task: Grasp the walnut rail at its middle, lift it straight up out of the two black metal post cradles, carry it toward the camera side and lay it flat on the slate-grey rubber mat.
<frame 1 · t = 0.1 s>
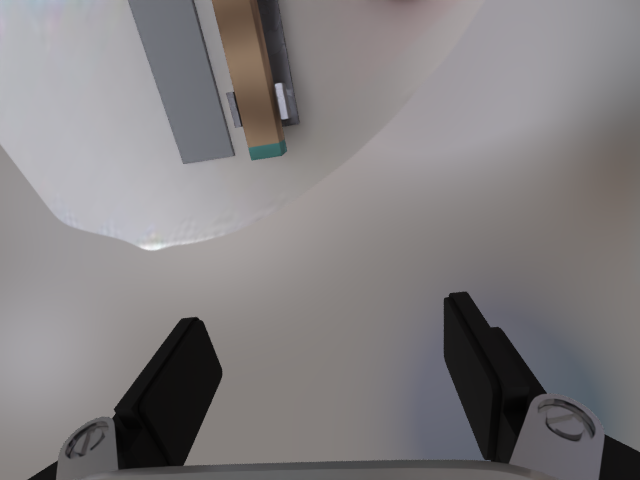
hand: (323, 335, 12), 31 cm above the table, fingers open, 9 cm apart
mat: (178, 55, 36), on the table
rail: (244, 20, 27), point 8 cm above the table, touching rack
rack: (264, 37, 34), on the table
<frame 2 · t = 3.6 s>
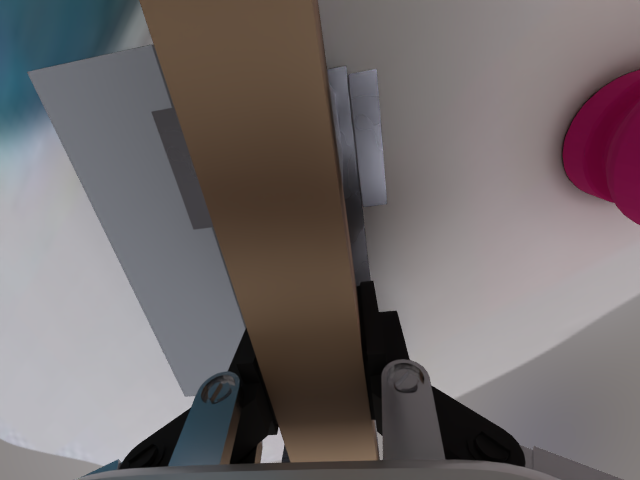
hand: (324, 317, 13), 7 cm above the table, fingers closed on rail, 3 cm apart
pepper mill: (623, 136, 16), on the table
mat: (177, 262, 21), on the table
rail: (323, 330, 12), point 8 cm above the table, touching gripper, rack
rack: (330, 243, 19), on the table
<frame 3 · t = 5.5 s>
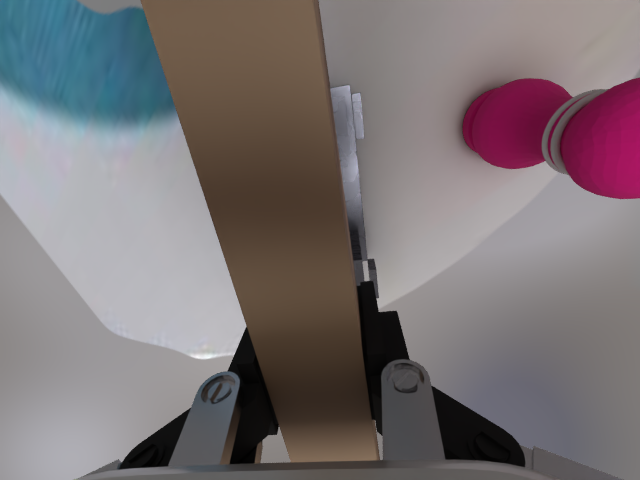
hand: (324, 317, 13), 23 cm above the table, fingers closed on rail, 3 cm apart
pepper mill: (493, 122, 30), on the table
rail: (324, 330, 12), point 24 cm above the table, touching gripper
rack: (339, 183, 34), on the table
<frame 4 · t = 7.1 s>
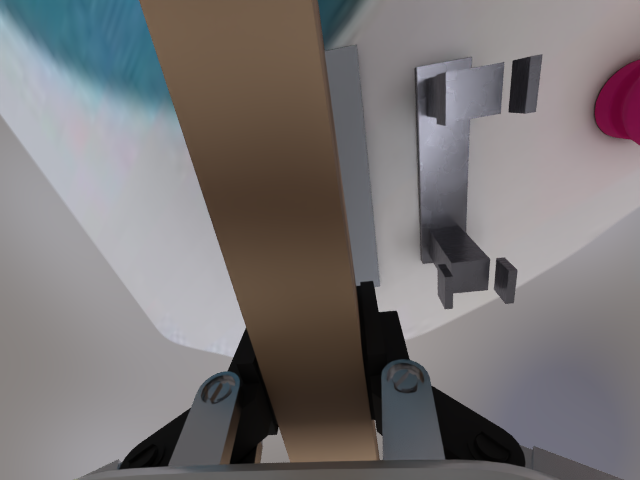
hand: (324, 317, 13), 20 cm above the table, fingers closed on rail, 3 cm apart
pepper mill: (631, 99, 26), on the table
mat: (335, 188, 31), on the table
rail: (323, 331, 12), point 21 cm above the table, touching gripper
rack: (441, 173, 30), on the table
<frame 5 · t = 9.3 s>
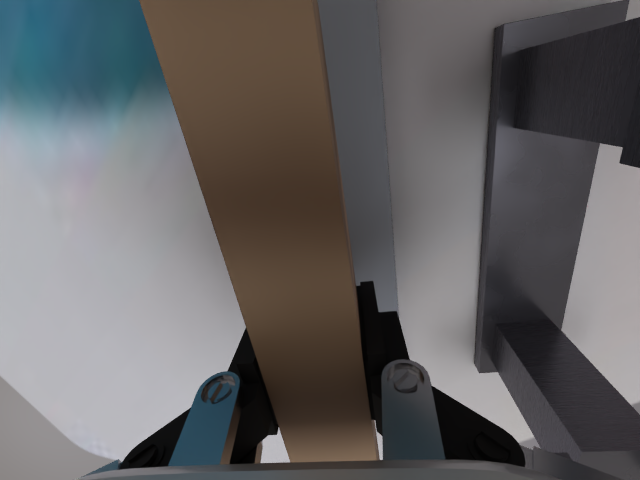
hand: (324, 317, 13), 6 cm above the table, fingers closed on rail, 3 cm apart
mat: (331, 252, 18), on the table
rail: (323, 331, 12), point 6 cm above the table, touching gripper
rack: (525, 230, 16), on the table
when the fingers open (1 cm above the table, at t = 11.0 s): rail drops 1 cm, resting on mat.
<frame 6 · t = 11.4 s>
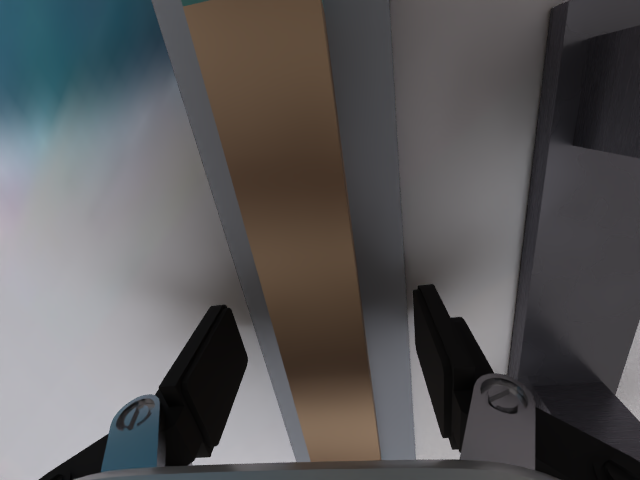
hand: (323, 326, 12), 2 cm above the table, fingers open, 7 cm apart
mat: (326, 297, 14), on the table
rail: (327, 304, 13), point 1 cm above the table, touching mat
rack: (575, 273, 13), on the table
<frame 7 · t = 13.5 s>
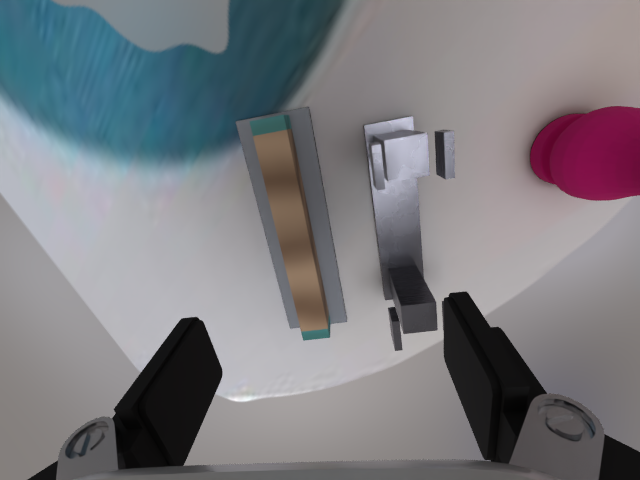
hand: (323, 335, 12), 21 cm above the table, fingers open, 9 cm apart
pepper mill: (563, 149, 29), on the table
mat: (298, 231, 33), on the table
rail: (298, 233, 32), point 1 cm above the table, touching mat
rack: (396, 216, 32), on the table
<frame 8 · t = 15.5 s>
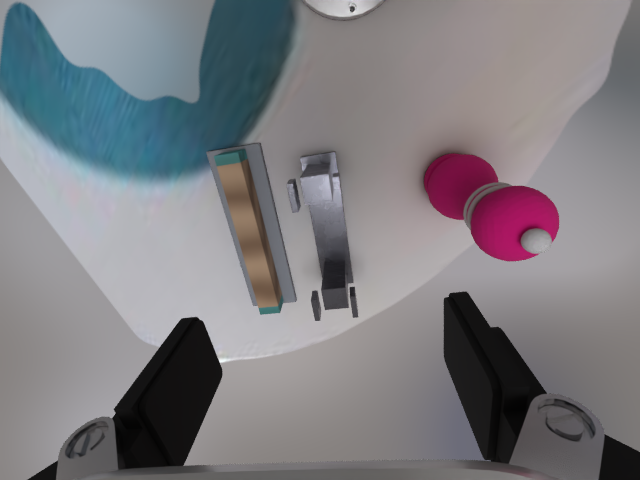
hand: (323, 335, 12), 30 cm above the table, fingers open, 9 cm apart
pepper mill: (448, 178, 39), on the table
mat: (256, 232, 44), on the table
rail: (256, 234, 43), point 1 cm above the table, touching mat
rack: (329, 223, 42), on the table
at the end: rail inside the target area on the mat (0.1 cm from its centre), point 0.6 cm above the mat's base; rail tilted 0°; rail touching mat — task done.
